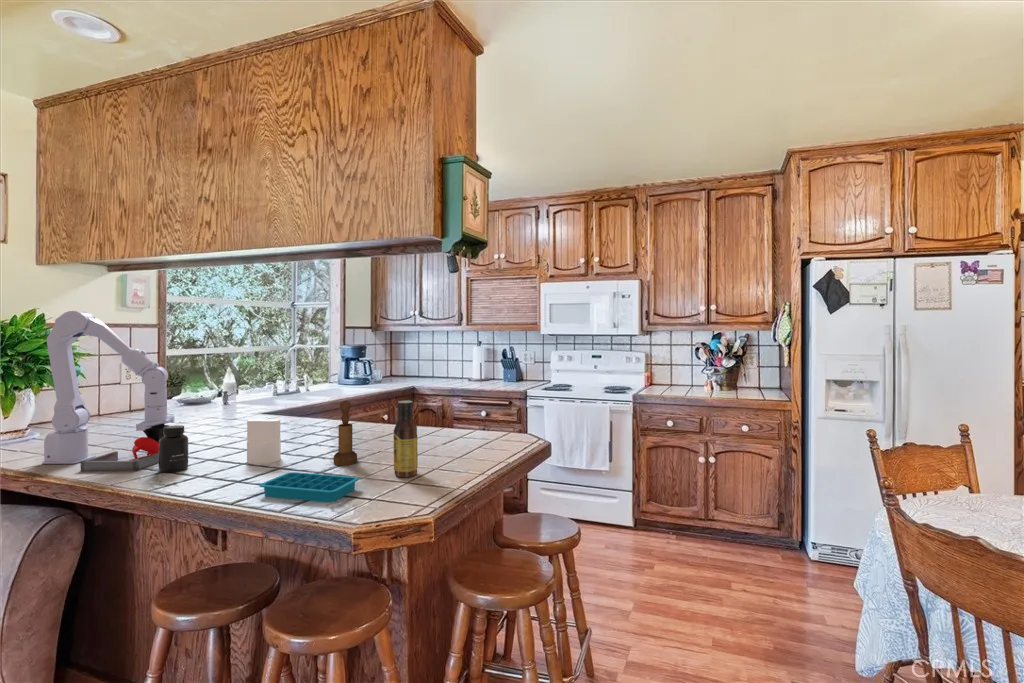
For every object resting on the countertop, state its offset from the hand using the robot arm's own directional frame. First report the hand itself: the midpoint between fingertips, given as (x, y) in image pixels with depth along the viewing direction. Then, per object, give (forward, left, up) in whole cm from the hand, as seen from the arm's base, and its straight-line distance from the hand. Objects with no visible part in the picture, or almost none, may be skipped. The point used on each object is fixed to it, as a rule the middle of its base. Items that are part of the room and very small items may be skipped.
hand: (156, 449), depth 156 cm
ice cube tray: (+62, -38, -2) cm, 73 cm away
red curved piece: (0, -4, -2) cm, 4 cm away
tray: (0, -13, -1) cm, 13 cm away
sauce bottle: (+82, -24, -2) cm, 85 cm away
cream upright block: (+37, -8, -2) cm, 38 cm away
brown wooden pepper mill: (+62, -11, -2) cm, 63 cm away
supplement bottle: (+17, -18, -2) cm, 25 cm away
